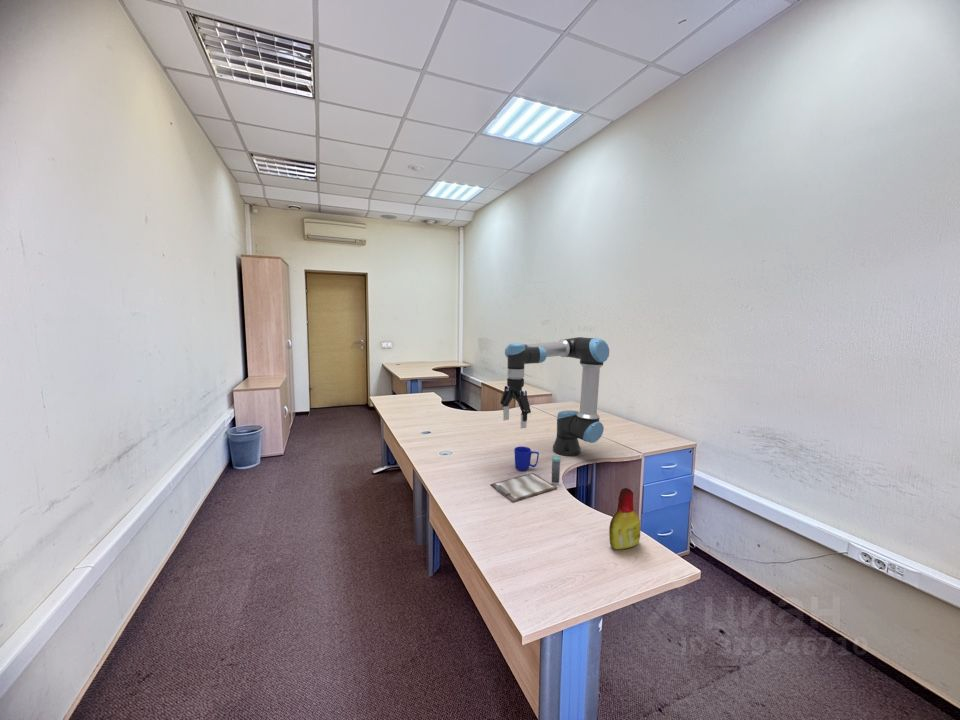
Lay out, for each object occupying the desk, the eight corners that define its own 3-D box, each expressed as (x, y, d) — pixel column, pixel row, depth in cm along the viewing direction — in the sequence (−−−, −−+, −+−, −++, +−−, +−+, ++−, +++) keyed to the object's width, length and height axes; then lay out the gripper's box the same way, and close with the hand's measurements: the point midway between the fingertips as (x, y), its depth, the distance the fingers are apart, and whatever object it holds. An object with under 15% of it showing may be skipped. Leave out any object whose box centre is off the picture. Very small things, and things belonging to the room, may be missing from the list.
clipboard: (532, 474, 173) (532, 470, 173) (557, 489, 159) (557, 485, 159) (490, 485, 161) (490, 482, 161) (512, 502, 147) (512, 498, 146)
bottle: (615, 555, 115) (619, 496, 113) (602, 543, 121) (605, 487, 119) (644, 547, 120) (648, 490, 117) (629, 536, 125) (633, 481, 123)
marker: (555, 481, 167) (556, 455, 165) (560, 484, 164) (562, 458, 162) (549, 482, 165) (550, 456, 163) (554, 486, 162) (556, 459, 160)
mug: (537, 473, 174) (538, 453, 173) (512, 471, 177) (513, 451, 175) (538, 466, 182) (539, 447, 181) (514, 464, 185) (515, 445, 183)
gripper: (493, 374, 170) (492, 418, 173) (525, 383, 149) (524, 432, 152) (506, 373, 174) (505, 416, 177) (540, 381, 153) (538, 430, 155)
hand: (514, 423), depth 164 cm, fingers open, 13 cm apart
